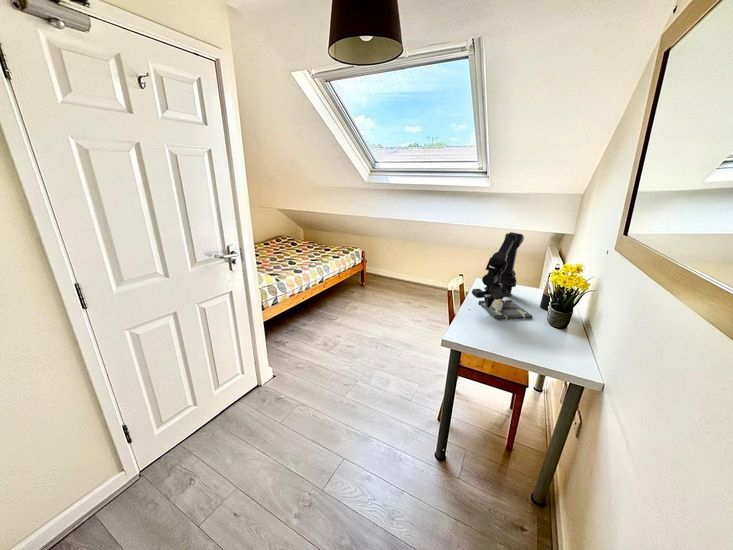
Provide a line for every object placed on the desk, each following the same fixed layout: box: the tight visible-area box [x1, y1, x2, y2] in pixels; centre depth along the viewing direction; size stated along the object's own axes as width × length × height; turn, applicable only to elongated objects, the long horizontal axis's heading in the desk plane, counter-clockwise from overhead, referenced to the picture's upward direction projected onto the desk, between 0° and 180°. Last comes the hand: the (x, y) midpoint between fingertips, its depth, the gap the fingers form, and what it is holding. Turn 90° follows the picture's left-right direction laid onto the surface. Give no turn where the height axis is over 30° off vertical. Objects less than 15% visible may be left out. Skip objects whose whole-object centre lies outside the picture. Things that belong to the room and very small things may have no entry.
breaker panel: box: [479, 301, 531, 319], centre depth 159 cm, size 14×20×2 cm
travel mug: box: [539, 272, 552, 312], centre depth 162 cm, size 8×8×20 cm
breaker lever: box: [492, 299, 503, 311], centre depth 157 cm, size 5×2×5 cm, turn 10°
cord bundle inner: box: [477, 299, 514, 306], centre depth 167 cm, size 2×20×2 cm, turn 99°
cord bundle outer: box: [494, 313, 534, 321], centre depth 152 cm, size 2×20×2 cm, turn 100°
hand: (487, 307), depth 157 cm, fingers closed
